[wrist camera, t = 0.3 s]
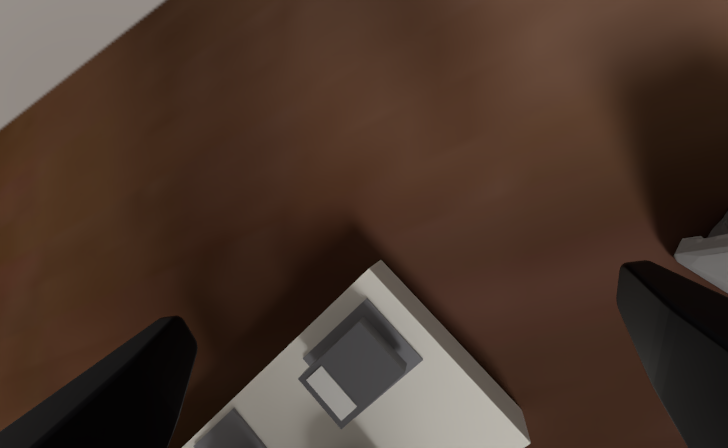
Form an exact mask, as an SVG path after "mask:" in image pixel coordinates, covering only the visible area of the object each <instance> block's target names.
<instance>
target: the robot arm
mask: <svg viewBox="0 0 728 448" xmlns="http://www.w3.org/2000/svg"><path fill="white" fill-rule="evenodd" d="M617 305H618V309H619V311H620V314H621V316H622V318H623V320H624V323H625V325H626V327H627V329H628V332H629V334H630V336H631V339H632V341H633V343H634V345H635V348H636V350H637V352H638V354H639V357H640V359H641V361H642V363H643V366H644V368H645V370H646V372H647V375H648V377H649V379H650V381H651V383H652V385H653V387H654V389H655V391H656V393H657V394H658V396H659V398H660V400H661V402H662V403H663V405H664V407H665V409H666V410H667V412H668V414H669V415H670V417H671V419H672V421H673V422H674V424H675V426H676V427H677V429H678V431H679V432H680V434H681V436H682V438H683V439H684V441H685V443H686V444H687V446H688V448H728V297H726V296H724V295H722V294H719V293H717V292H715V291H713V290H711V289H709V288H707V287H704V286H702V285H700V284H698V283H696V282H694V281H692V280H689V279H687V278H685V277H683V276H681V275H679V274H677V273H674V272H672V271H670V270H668V269H666V268H664V267H662V266H660V265H657V264H655V263H653V262H651V261H646V260H644V261H635V262H627V263H624V264H623V265H622V266H621V268H620V272H619V280H618V288H617ZM196 354H197V342H196V340H195V338H194V336H193V335H192V333H191V331H190V330H189V328H188V326H187V325H186V323H185V321H184V320H183V319H182V318H181V317H179V316H170V317H163V318H160V319H158V320H157V321H155V322H154V323H153V324H151V325H150V326H148V327H147V328H145V329H144V330H143V331H141V332H140V333H138V334H137V335H136V336H134V337H133V338H131V339H130V340H129V341H127V342H126V343H124V344H123V345H122V346H120V347H119V348H117V349H116V350H115V351H113V352H112V353H110V354H109V355H107V356H106V357H105V358H103V359H102V360H100V361H99V362H98V363H96V364H95V365H93V366H92V367H91V368H89V369H88V370H86V371H85V372H84V373H82V374H81V375H79V376H78V377H76V378H75V379H74V380H72V381H71V382H69V383H68V384H67V385H65V386H64V387H62V388H61V389H60V390H58V391H57V392H55V393H54V394H53V395H51V396H50V397H48V398H47V399H46V400H44V401H43V402H41V403H40V404H38V405H37V406H36V407H34V408H33V409H31V410H30V411H29V412H27V413H26V414H24V415H23V416H22V417H20V418H19V419H17V420H16V421H15V422H13V423H12V424H10V425H9V426H8V427H6V428H5V429H3V430H2V431H0V448H168V446H169V443H170V441H171V438H172V435H173V433H174V430H175V427H176V424H177V421H178V419H179V415H180V412H181V409H182V405H183V402H184V398H185V394H186V391H187V387H188V383H189V380H190V376H191V372H192V369H193V365H194V361H195V358H196Z"/></svg>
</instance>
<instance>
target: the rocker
mask: <svg viewBox="0 0 728 448" xmlns="http://www.w3.org/2000/svg"><path fill="white" fill-rule="evenodd" d="M406 365H407V363H406V362H405V361H404V360H403V359H402V358H401V356H400V355H399V354H398V353H397V352H396V351H395V350H394V349H393V348H392V347H391V345H390V344H389V343H388V342H387V341H386V340H385V339H384V338H383V337H382V335H381V334H380V333H379V332H378V331H377V330H376V329H375V328H374V327H373V326H372V324H371V323H370V322H369V321H368V320H367V319H366V318H365V317H364V316H363V317H362V318H361V319H360V320H359V321H358V322H356V323H355V324H354V325H353V326H352V327H351V328H350V329H349V330H348V331H347V332H346V333H345V334H344V335H343V336H341V337H340V338H339V339H338V340H337V341H336V342H335V343H334V344H333V345H332V346H331V347H330V348H329V349H328V350H326V351H325V352H324V353H323V354H322V355H321V356H320V357H319V358H318V359H317V360H316V361H315V362H314V363H313V364H311V365H310V366H309V367H308V368H307V369H306V370H305V371H304V372H303V374H302V375H301V376H300V377H299V378H298V380H299V381H300V382H301V383H302V384H303V385H304V387H305V388H306V389H307V390H308V391H309V392H310V394H311V395H312V396H313V397H314V398H315V399H316V401H317V402H318V403H319V404H320V405H321V406H322V408H323V409H324V410H325V411H326V412H327V413H328V415H329V416H330V417H331V418H332V419H333V420H334V422H335V423H336V424H337V425H338V426H339V427H340V429H343V428H344V427H345V426H346V425H347V424H348V423H349V422H350V421H352V420H353V419H354V418H355V417H356V416H357V415H358V414H359V413H360V412H362V411H363V410H364V409H365V408H366V407H367V406H368V405H369V404H370V403H372V402H373V401H374V400H375V399H376V398H377V397H378V396H379V395H381V394H382V393H383V392H384V391H385V390H386V389H387V388H388V387H389V386H391V385H392V384H393V383H394V382H395V381H396V380H397V379H398V378H399V377H401V376H402V375H403V374H404V373H405V370H406Z"/></svg>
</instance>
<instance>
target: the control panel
mask: <svg viewBox="0 0 728 448" xmlns="http://www.w3.org/2000/svg"><path fill="white" fill-rule="evenodd" d="M363 316H364V317H365V318H366V319H367V320H368V321H369V322H370V323H371V324H372V326H373V327H374V328H375V329H376V330H377V331H378V332H379V333H380V334H381V335H382V337H383V338H384V339H385V340H386V341H387V342H388V343H389V344H390V345H391V347H392V348H393V349H394V350H395V351H396V352H397V353H398V354H399V355H400V356H401V358H402V359H403V360H404V361H405V362H406V363H407V365H406V370H405V373H404V374H403V375H402V376H401V377H399V378H398V379H397V380H396V381H395V382H394V383H393V384H392V385H391V386H389V387H388V388H387V389H386V390H385V391H384V392H383V393H382V394H381V395H379V396H378V397H377V398H376V399H375V400H374V401H373V402H372V403H370V404H369V405H368V406H367V407H366V408H365V409H364V410H363V411H362V412H360V413H359V414H358V415H357V416H356V417H355V418H354V419H353V420H352V421H350V422H349V423H348V424H347V425H346V426H345V427H344V428H343V429H340V427H339V426H338V425H337V424H336V423H335V422H334V420H333V419H332V418H331V417H330V416H329V415H328V413H327V412H326V411H325V410H324V409H323V408H322V406H321V405H320V404H319V403H318V402H317V401H316V399H315V398H314V397H313V396H312V395H311V394H310V392H309V391H308V390H307V389H306V388H305V387H304V385H303V384H302V383H301V382H300V381H299V380H298V378H299V377H300V376H301V375H302V374H303V372H304V371H305V370H306V369H307V368H308V367H309V366H310V365H311V364H313V363H314V362H315V361H316V360H317V359H318V358H319V357H320V356H321V355H322V354H323V353H324V352H325V351H326V350H328V349H329V348H330V347H331V346H332V345H333V344H334V343H335V342H336V341H337V340H338V339H339V338H340V337H341V336H343V335H344V334H345V333H346V332H347V331H348V330H349V329H350V328H351V327H352V326H353V325H354V324H355V323H356V322H358V321H359V320H360V319H361V318H362V317H363ZM530 443H531V442H530V438H529V434H528V431H527V427H526V424H525V420H524V416H523V413H522V410H521V409H520V407H519V406H518V405H517V404H516V403H515V402H514V401H513V400H512V399H511V398H510V397H509V396H508V395H507V394H506V392H505V391H504V390H503V389H502V388H501V387H500V386H499V385H498V384H497V383H496V382H495V381H494V380H493V379H492V378H491V376H490V375H489V374H488V373H487V372H486V371H485V370H484V369H483V368H482V367H481V366H480V365H479V364H478V363H477V362H476V360H475V359H474V358H473V357H472V356H471V355H470V354H469V353H468V352H467V351H466V350H465V349H464V348H463V347H462V345H461V344H460V343H459V342H458V341H457V340H456V339H455V338H454V337H453V336H452V335H451V334H450V333H449V332H448V331H447V329H446V328H445V327H444V326H443V325H442V324H441V323H440V322H439V321H438V320H437V319H436V318H435V317H434V316H433V315H432V313H431V312H430V311H429V310H428V309H427V308H426V307H425V306H424V305H423V304H422V303H421V302H420V301H419V300H418V298H417V297H416V296H415V295H414V294H413V293H412V292H411V291H410V290H409V289H408V288H407V287H406V286H405V285H404V284H403V282H402V281H401V280H400V279H399V278H398V277H397V276H396V275H395V274H394V273H393V272H392V271H391V270H390V269H389V268H388V266H387V265H386V264H385V263H384V262H383V261H382V260H380V261H378V262H377V263H375V264H374V265H373V266H371V267H370V268H369V269H368V270H367V271H366V272H365V273H364V274H362V275H361V276H360V277H359V278H358V279H357V280H356V281H355V282H354V283H353V284H352V285H351V286H350V287H349V288H348V289H347V290H346V291H345V292H344V293H343V294H342V295H341V296H340V297H338V298H337V299H336V300H335V301H334V302H333V303H332V304H331V305H330V306H329V307H328V308H327V309H326V310H325V311H324V312H323V313H322V314H321V315H320V316H319V317H318V318H317V319H316V320H314V321H313V322H312V323H311V324H310V325H309V326H308V327H307V328H306V329H305V330H304V331H303V332H302V333H301V334H300V335H299V336H298V337H297V338H296V339H295V340H294V341H293V342H292V343H290V344H289V345H288V346H287V347H286V348H285V349H284V350H283V351H282V352H281V353H280V354H279V355H278V356H277V357H276V358H275V359H274V360H273V361H272V362H271V363H270V364H269V365H268V366H266V367H265V368H264V369H263V370H262V371H261V372H260V373H259V374H258V375H257V376H256V377H255V378H254V379H253V380H252V381H251V382H250V383H249V384H248V385H247V386H246V387H245V388H244V389H242V390H241V391H240V392H239V393H238V394H237V395H236V396H235V397H234V398H233V399H232V400H231V401H230V402H229V403H228V404H227V405H226V406H225V407H224V408H223V409H222V410H221V411H220V412H218V413H217V414H216V415H215V416H214V417H213V418H212V419H211V420H210V421H209V422H208V423H207V424H206V425H205V426H204V427H203V428H202V429H201V430H200V431H199V432H198V433H197V434H196V435H194V436H193V437H192V438H191V439H190V440H189V441H188V442H187V443H186V444H185V445H184V446H183V447H182V448H525V447H526V446H527V445H529V444H530Z"/></svg>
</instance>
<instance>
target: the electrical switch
mask: <svg viewBox="0 0 728 448" xmlns="http://www.w3.org/2000/svg"><path fill="white" fill-rule="evenodd" d="M674 258H675V259H676V261H677V262H679V263H680V264H682V265H683V266H685V267H686V268H688V269H690V270H691V271H693V272H694V273H696V274H698V275H699V276H701V277H702V278H704V279H706V280H707V281H709V282H710V283H712V284H714V285H715V286H717V287H718V288H720V289H722V290H723V291H725V292H726V293H728V211H727V212H726V214H725V215H724V217H723V219H722V220H721V221H720V222H719V223H718V224H717V225H716V226H715V227H714V228H713V229H712V230H711V232H710V234H709V236H708V237H707V238H703V237H702V236H697V237H690V238H682V240H681V242H680V244H679V246H678V248H677V250H676V252H675V254H674Z"/></svg>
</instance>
